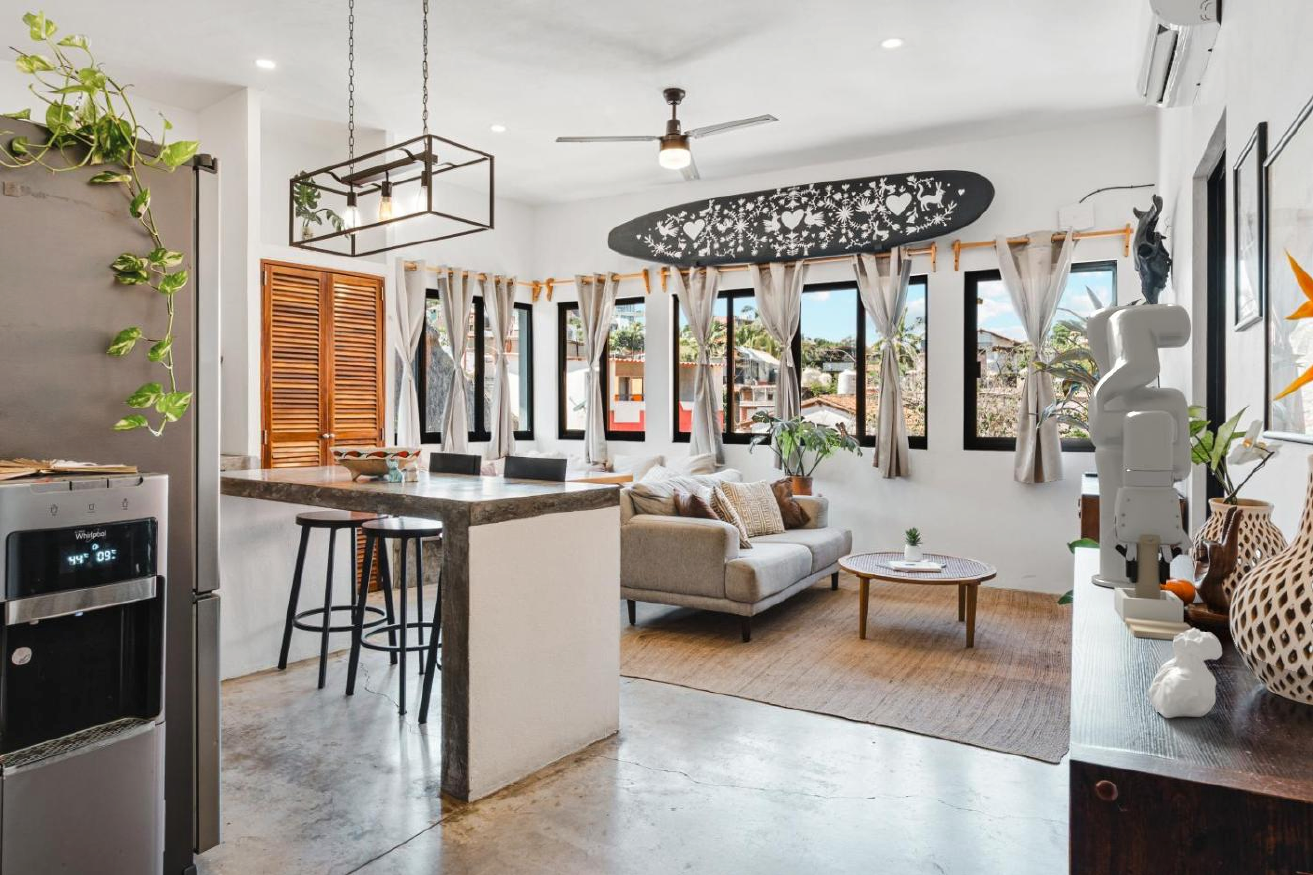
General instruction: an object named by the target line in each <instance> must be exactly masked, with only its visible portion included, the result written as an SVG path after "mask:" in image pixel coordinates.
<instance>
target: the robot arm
mask: <svg viewBox="0 0 1313 875" xmlns="http://www.w3.org/2000/svg"><path fill="white" fill-rule="evenodd" d="M1191 334H1192V323H1191V319H1190V316H1189V314H1188V312H1187V310H1186V309H1185V308H1184V306H1182V305H1179V304H1175V303H1155V304H1134V305H1115V306H1108V307H1103V308H1099V309H1097V310H1095V311H1093V312H1092V313H1090V314H1089V316H1088V318H1087V321H1086V337H1087V343H1088V346H1089V350H1090V353H1091V355H1092V357H1093V360H1094V361H1095V364H1096V365H1097V369H1098V372H1099V373H1098V374H1099V381H1098V382H1097V383H1096V384H1095V386H1094V387H1093V389H1092V391H1091V393H1090V395H1089V397H1088V398H1089V400H1088V403H1087V417H1088V419H1087V420H1088V432H1089V439H1090V441H1091V443H1092V444H1093V446H1094V447H1095V450H1094V461H1095V467H1096V472H1097V473H1096V474H1097V480H1098V490H1099V492H1098V493H1099V494H1098V496H1099V574H1093V575H1092V576H1091V577H1090V578H1091V582H1092V583H1093V584H1095V585H1098V586H1102V587H1106V588H1112V589H1114V587H1115V588H1131V589H1134V588H1135V583H1137V562H1136V556H1137V548H1136V544H1141V542H1139V538H1140V535H1141V534H1144V535H1159V536H1160V539H1161V543H1158V545H1160V546H1159V551H1160V556H1159V558H1160V559H1159V570H1160V584H1161V585H1162V586H1166V585H1167V581H1169V580H1171V563H1172V562H1173V560H1174V559H1176V558H1177V557H1178V556H1179V555H1181V554H1182V553H1183V552H1185V551H1188V550H1189V549H1192V548H1193V547H1194V542H1193V541H1192V540H1191V538H1190V537H1189V535H1188V533H1186V531H1185V529H1183V520H1182V511H1181V503H1180V497H1179V492H1178V489H1177V487H1176V488H1175V487H1174V486H1175V485H1174V484H1175V483H1178V482H1179V483H1182V482H1183V481H1185V480H1187V479H1188V478H1189V476H1190V475H1191V472H1192V466H1193V464H1192V461H1193V460H1192V445H1191V428H1190V416H1189V406H1188V403H1187V402H1188V401H1187V398H1186V397H1185V395H1184V393H1183V392H1182V391H1181V390H1180V389H1176V388H1174V387H1148V385H1150V384H1151V383H1153V382H1154V381H1155V380H1156V379H1157V378H1158V376H1159V375H1160V373H1161V363H1160V355H1159V349H1171V348H1174V349H1175V348H1182V347H1184V346H1186V344H1188V342H1189V340H1190V337H1191ZM1148 540H1149V541H1152V540H1153V539H1152V538H1151V537H1149V538H1148ZM1173 545H1174V546H1173ZM1171 546H1172V547H1171Z"/></svg>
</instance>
